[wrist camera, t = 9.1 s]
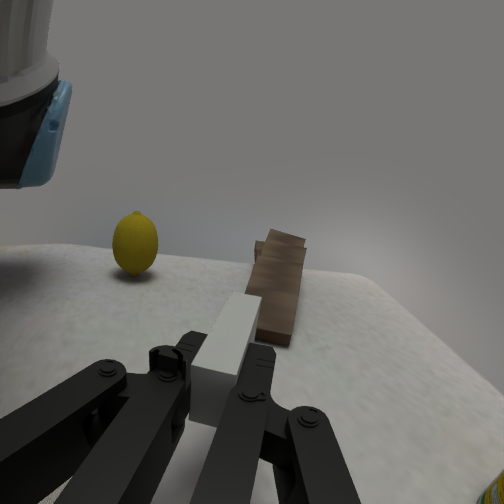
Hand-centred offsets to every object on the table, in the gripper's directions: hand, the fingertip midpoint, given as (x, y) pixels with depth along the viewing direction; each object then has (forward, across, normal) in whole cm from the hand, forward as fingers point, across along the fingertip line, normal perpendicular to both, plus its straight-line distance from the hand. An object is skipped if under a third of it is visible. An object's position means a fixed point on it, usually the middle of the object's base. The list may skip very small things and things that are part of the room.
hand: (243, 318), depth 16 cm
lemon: (+18, -16, -7) cm, 25 cm away
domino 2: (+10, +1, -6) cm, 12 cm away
